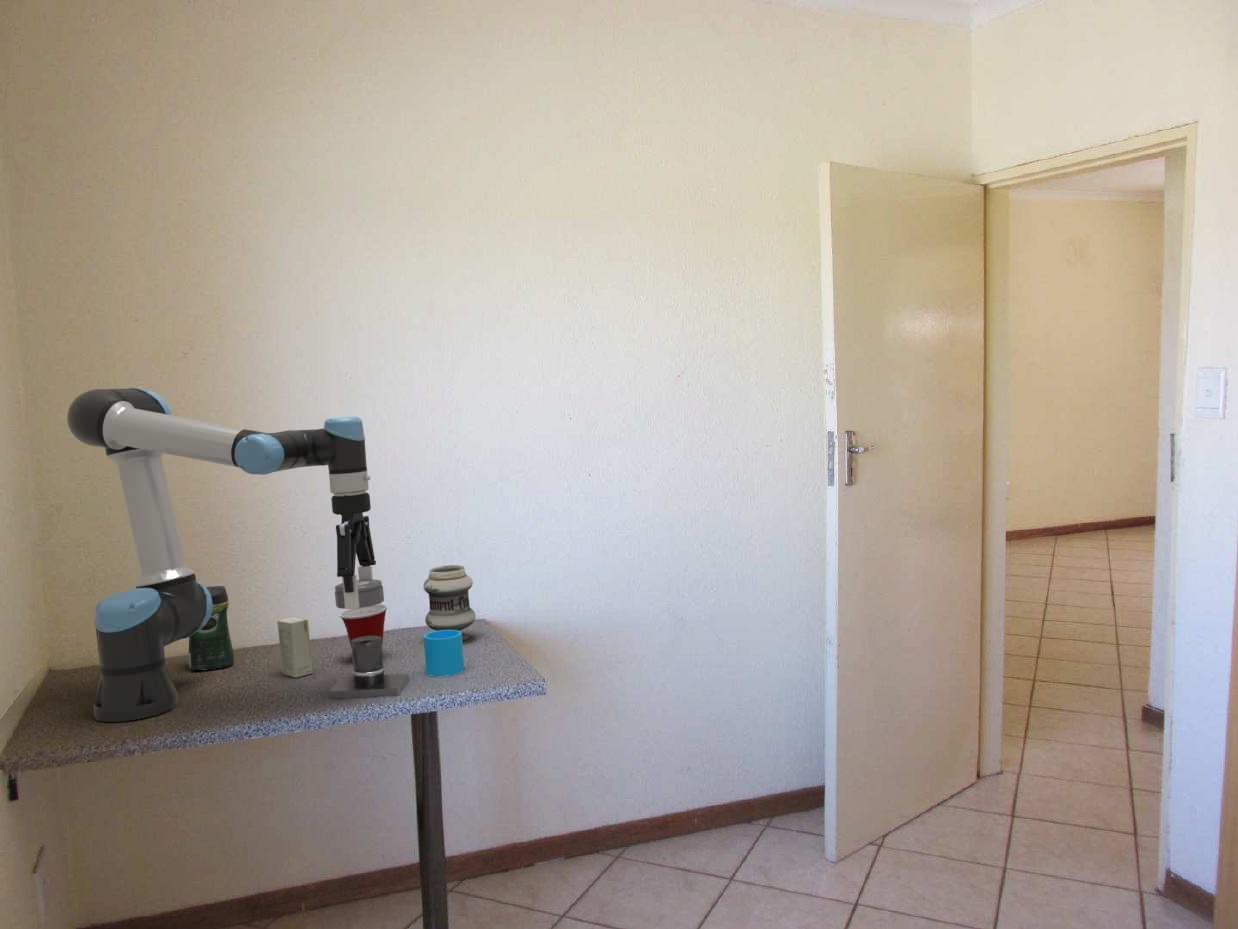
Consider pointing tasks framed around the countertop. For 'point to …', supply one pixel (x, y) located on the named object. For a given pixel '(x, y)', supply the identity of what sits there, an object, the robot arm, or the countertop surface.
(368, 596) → the cap
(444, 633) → the mug
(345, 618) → the plastic cup
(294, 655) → the skincare box
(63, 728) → the countertop surface
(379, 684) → the gray flat-based fixture
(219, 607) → the coffee jar
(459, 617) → the apothecary jar
